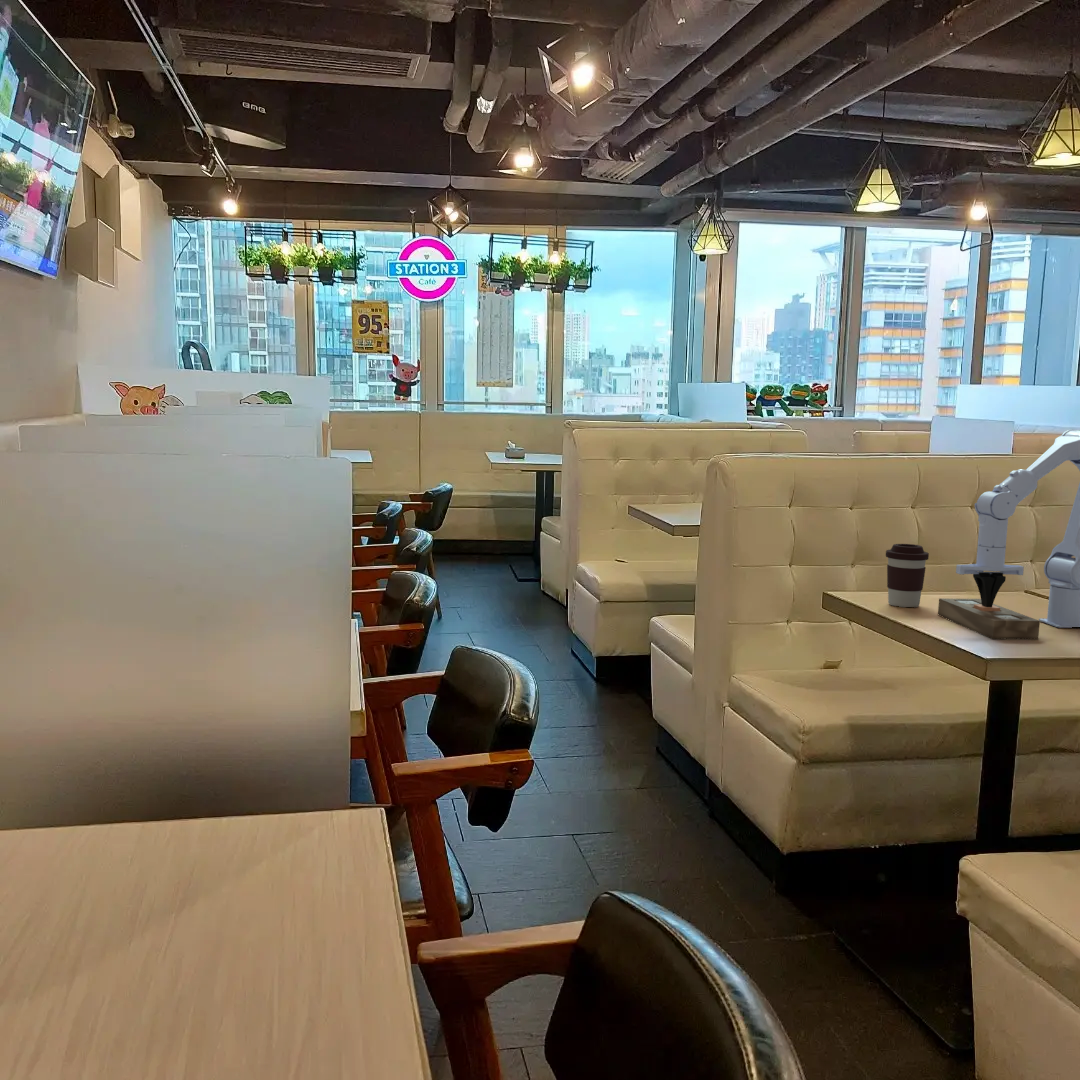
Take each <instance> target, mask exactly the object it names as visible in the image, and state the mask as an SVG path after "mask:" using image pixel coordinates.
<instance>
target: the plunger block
mask: <svg viewBox="0 0 1080 1080" xmlns="http://www.w3.org/2000/svg"><path fill="white" fill-rule="evenodd" d="M957 601H974V602H977V603H979V604H982V603H981V598H940V597H939V598H938V607H937V615H938V614H939V615H941V616H943V617H944V618H943V617H942V618H943V619H945V618H947V619H946V620H948V619H949V620H948V621H950V620H951V621H950V622H952V621H953V622H952V623H956V624H957V625H959V624H960V625H959V626H961V625H962V627H964V628H967V629H968V628H969V630H970V631H973V632H975V631H976V633H977V632H978V634H980V633H981V634H980V635H982V634H983V635H982V636H984V635H985V637H987V638H989V639H991V638H992V639H991V640H1039V635H1040V623H1041V621H1039V619H1036V618H1033V617H1031V616H1028V615H1025V614H1022V613H1020V612H1017V611H1013V610H1011V609H1009V608H1006V607H1003V606H1001V605H998V604H996V603H993V605H994V606H996V607H999V608H1000V611H980V610H978V609H975V608H974V604H962V603H960V602H957ZM939 615H938V616H939ZM993 615H1007V616H1013V617H1016V618H1019V619H1001V618H998V617H996V616H993ZM941 616H940V617H941Z"/></svg>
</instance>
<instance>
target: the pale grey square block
mask: <svg viewBox="0 0 1080 1080" xmlns="http://www.w3.org/2000/svg"><path fill="white" fill-rule="evenodd" d="M993 616H996V617H998V618H1001V619H1019V618H1016V617H1013V616H1007V615H993Z"/></svg>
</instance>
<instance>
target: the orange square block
mask: <svg viewBox="0 0 1080 1080" xmlns="http://www.w3.org/2000/svg"><path fill="white" fill-rule="evenodd" d="M974 608H975V609H978V610H980V611H1000V608H999V607H996V606H994V605H992V607H985V606H982V604H974Z"/></svg>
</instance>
